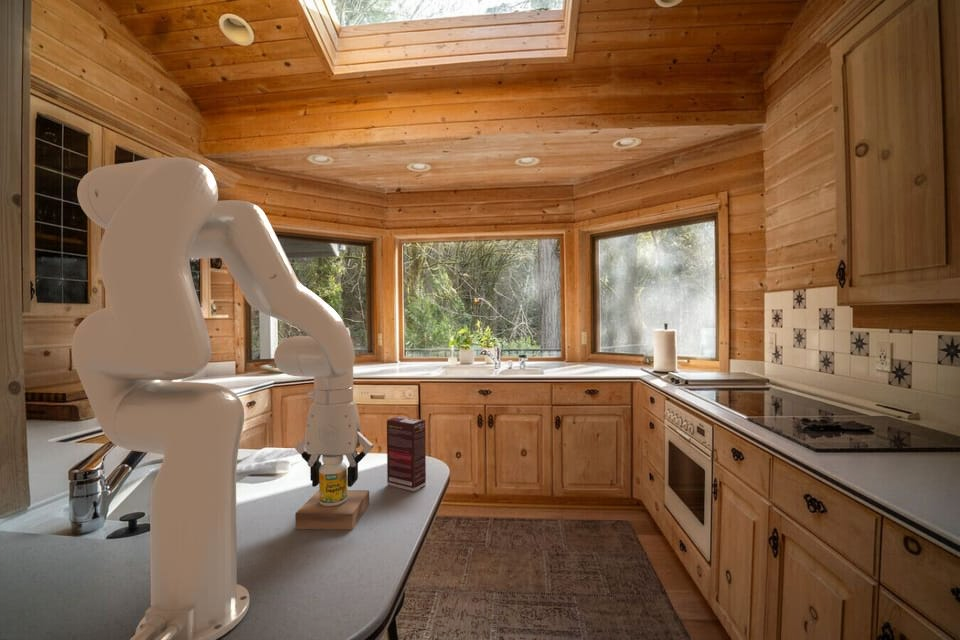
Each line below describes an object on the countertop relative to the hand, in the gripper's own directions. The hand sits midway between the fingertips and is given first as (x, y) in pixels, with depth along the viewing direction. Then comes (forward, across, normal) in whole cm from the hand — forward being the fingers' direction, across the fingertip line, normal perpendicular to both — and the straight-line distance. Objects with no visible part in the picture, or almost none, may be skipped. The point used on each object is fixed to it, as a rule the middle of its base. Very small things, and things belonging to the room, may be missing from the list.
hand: (334, 483), depth 86 cm
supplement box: (+7, +12, +16) cm, 21 cm away
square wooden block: (+7, 0, 0) cm, 7 cm away
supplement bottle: (+4, 0, 0) cm, 4 cm away
